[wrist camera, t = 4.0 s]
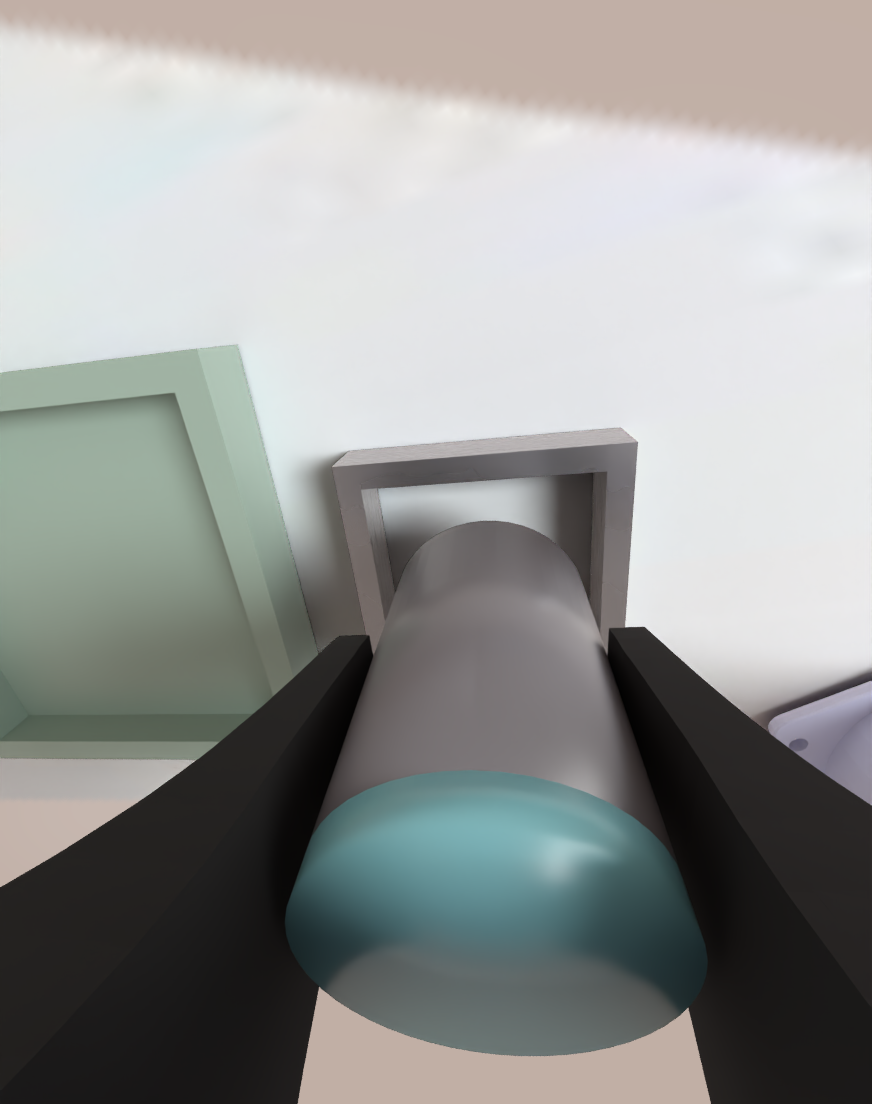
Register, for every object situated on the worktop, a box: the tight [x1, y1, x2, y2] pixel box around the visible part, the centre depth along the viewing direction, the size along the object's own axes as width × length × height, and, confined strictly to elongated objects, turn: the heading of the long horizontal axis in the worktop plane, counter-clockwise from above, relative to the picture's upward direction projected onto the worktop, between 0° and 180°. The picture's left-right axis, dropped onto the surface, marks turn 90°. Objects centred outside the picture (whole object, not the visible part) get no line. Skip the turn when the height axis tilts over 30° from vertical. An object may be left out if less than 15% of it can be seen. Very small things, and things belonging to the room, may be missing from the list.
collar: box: [332, 428, 638, 656], centre depth 13 cm, size 7×7×2 cm
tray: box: [0, 345, 318, 760], centre depth 14 cm, size 12×12×2 cm
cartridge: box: [285, 521, 708, 1056], centre depth 8 cm, size 4×4×7 cm
